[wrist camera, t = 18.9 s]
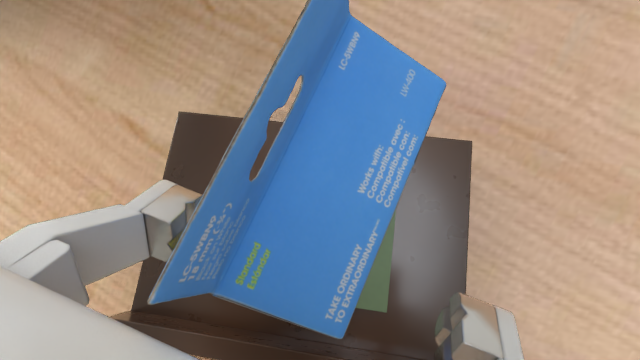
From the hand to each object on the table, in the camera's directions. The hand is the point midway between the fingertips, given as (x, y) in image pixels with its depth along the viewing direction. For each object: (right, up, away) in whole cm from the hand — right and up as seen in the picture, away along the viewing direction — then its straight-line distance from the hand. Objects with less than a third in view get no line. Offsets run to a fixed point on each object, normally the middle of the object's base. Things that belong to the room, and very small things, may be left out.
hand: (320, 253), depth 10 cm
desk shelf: (-1, -1, +11) cm, 11 cm away
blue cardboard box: (+1, +1, +8) cm, 8 cm away
